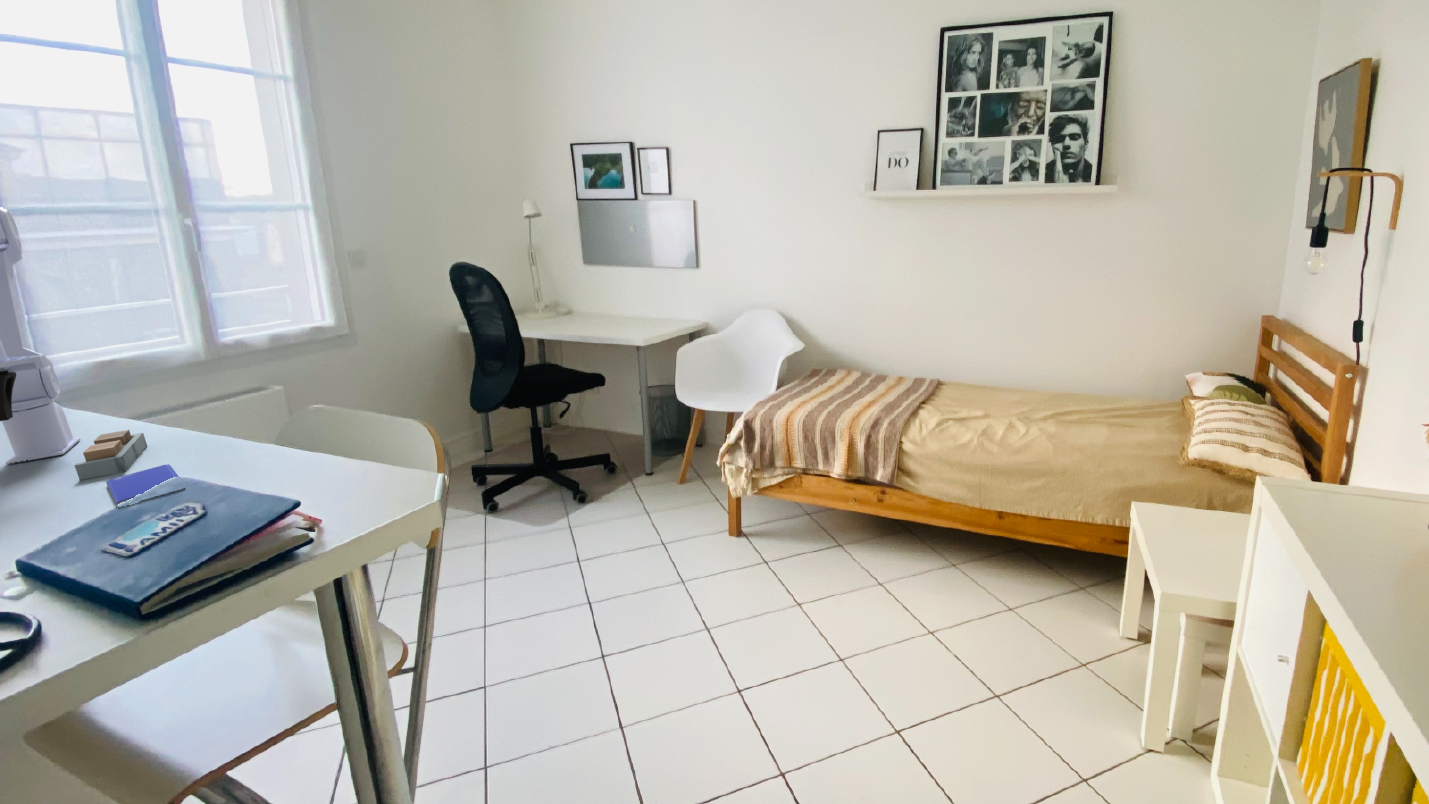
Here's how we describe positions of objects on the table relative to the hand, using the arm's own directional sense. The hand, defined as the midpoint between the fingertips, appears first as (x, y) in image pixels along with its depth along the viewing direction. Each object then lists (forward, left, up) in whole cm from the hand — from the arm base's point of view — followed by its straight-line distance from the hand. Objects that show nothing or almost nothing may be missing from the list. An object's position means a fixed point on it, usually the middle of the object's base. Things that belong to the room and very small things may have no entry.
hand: (5, 419), depth 116 cm
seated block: (-2, +12, -10) cm, 16 cm away
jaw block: (+4, +12, -10) cm, 16 cm away
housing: (+1, +12, -10) cm, 16 cm away
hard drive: (+19, +20, -11) cm, 30 cm away
